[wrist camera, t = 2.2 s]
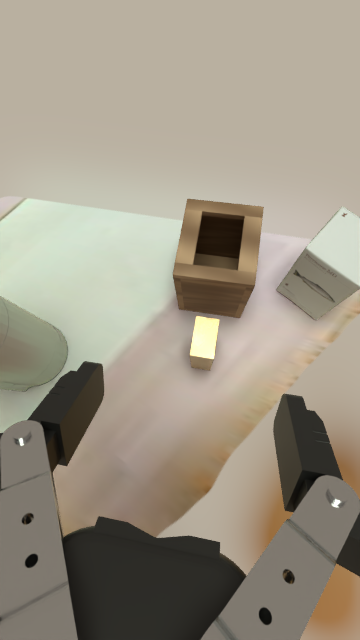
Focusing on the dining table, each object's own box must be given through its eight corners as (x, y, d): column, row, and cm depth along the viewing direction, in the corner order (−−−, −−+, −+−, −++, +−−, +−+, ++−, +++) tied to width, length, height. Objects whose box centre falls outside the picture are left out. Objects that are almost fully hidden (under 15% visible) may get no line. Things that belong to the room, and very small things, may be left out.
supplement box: (274, 290, 44) (302, 246, 32) (305, 257, 46) (343, 202, 34) (315, 322, 43) (361, 288, 31) (346, 287, 44) (402, 241, 32)
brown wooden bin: (239, 318, 44) (254, 285, 32) (179, 309, 44) (172, 274, 33) (247, 257, 46) (263, 206, 35) (189, 249, 47) (187, 198, 36)
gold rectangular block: (210, 370, 42) (214, 359, 32) (190, 367, 42) (188, 355, 32) (215, 339, 43) (220, 319, 33) (195, 336, 43) (195, 315, 34)
